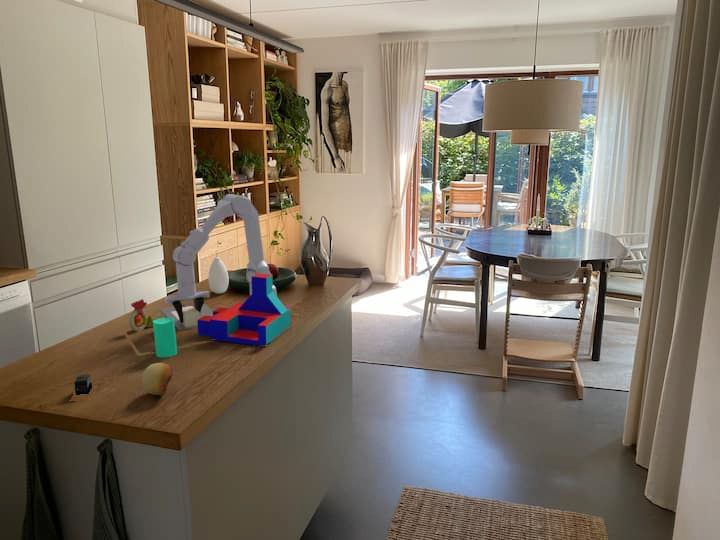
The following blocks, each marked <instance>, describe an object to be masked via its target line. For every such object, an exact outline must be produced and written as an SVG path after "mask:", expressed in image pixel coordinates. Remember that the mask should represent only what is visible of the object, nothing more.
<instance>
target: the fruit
mask: <svg viewBox="0 0 720 540" xmlns="http://www.w3.org/2000/svg"><path fill="white" fill-rule="evenodd" d="M173 376H174V369H173V368H172V366H171V365H169V364H167V363H164V362H155V363H151V364H149V365H148V366H147V367H146V368H145V370H144V371H143V373H142V375H141V384H142V386H143V388H144V390H145V391H146V392H147V393H148V394H150V395H154V396H163V395H165V393H166V392H167V387H168V384H169V382H171V379H172V378H173Z"/></svg>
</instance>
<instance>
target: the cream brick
mask: <svg viewBox="0 0 720 540" xmlns="http://www.w3.org/2000/svg"><path fill="white" fill-rule="evenodd" d="M182 314H183V323H182V324H183V325H184V326H185V327H186V328H187V327H193V326H198V323H197V320H198V319H200V312H199V311H197V310H196V309H195V308H194V307H193V306H188V307H182ZM179 321H180V320H179Z"/></svg>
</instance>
